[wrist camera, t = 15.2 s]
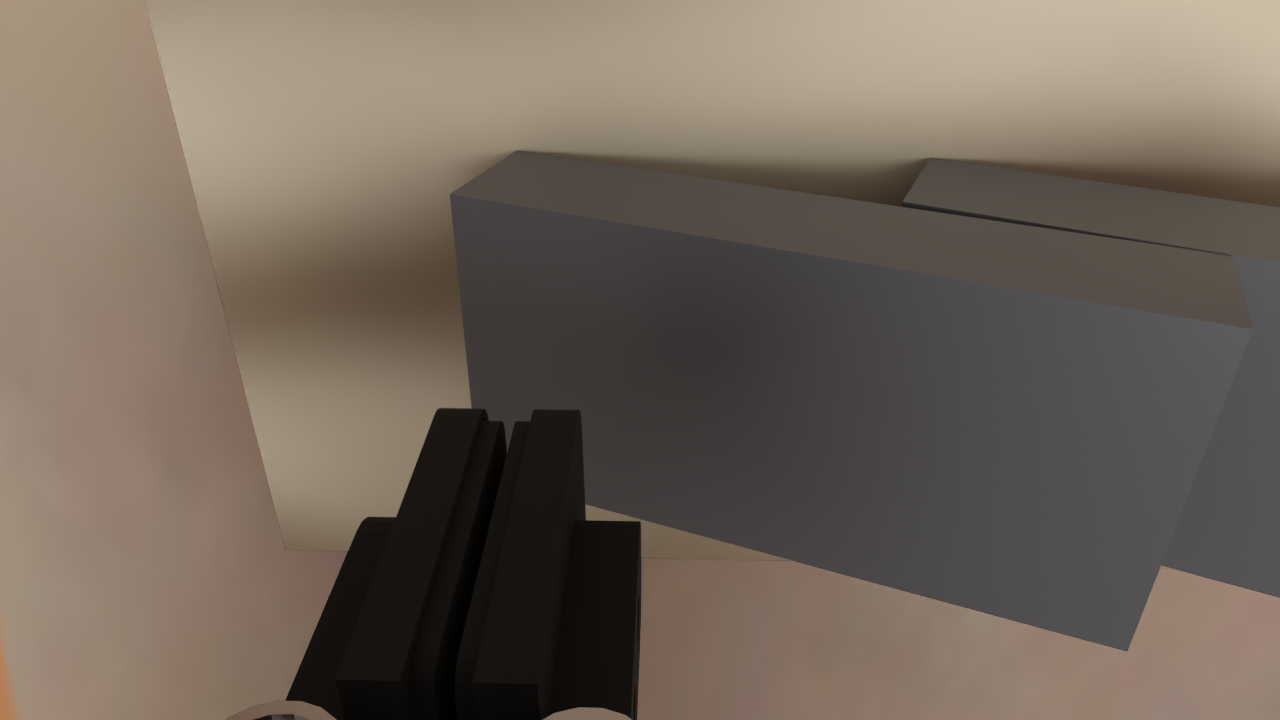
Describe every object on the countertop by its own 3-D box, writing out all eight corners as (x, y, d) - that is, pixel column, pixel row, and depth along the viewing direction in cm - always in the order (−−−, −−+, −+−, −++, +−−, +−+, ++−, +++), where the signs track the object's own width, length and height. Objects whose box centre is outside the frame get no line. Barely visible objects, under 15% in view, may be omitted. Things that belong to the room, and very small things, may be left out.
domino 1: (533, 412, 18) (1123, 556, 15) (478, 475, 16) (1127, 651, 13) (517, 149, 15) (1231, 255, 12) (449, 194, 13) (1252, 329, 10)
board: (1970, 565, 19) (2005, 586, 19) (294, 530, 20) (285, 550, 20) (2607, -90, 13) (2685, -85, 13) (140, -100, 14) (120, -94, 13)
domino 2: (886, 421, 18) (1575, 589, 14) (859, 483, 16) (1627, 691, 12) (930, 157, 15) (1789, 280, 11) (902, 201, 13) (1889, 360, 10)
